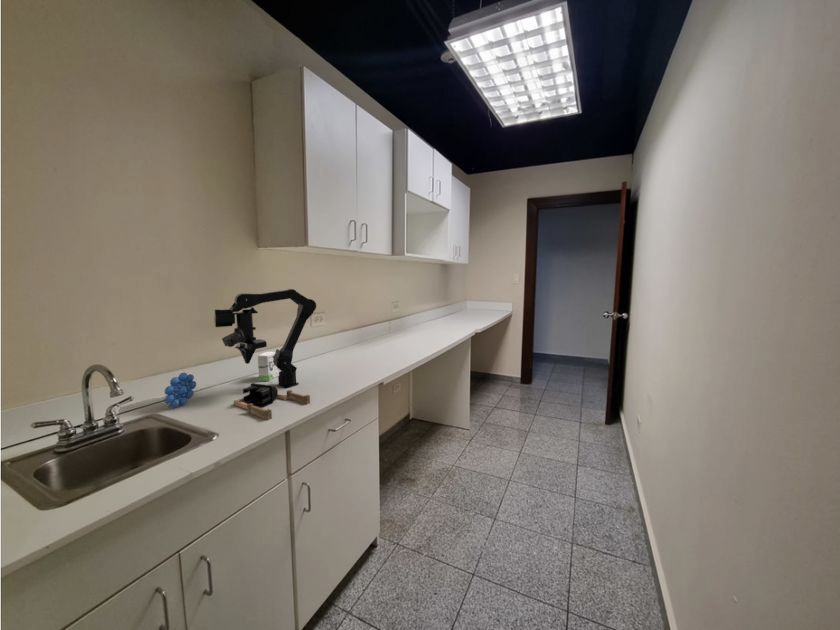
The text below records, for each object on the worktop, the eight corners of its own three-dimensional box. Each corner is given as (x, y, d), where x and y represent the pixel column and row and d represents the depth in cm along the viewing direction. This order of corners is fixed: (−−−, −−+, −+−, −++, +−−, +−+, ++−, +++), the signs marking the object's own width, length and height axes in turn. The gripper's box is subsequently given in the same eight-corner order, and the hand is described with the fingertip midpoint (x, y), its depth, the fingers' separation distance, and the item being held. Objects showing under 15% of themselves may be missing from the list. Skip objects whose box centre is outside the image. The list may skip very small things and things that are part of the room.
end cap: (278, 401, 131) (277, 383, 130) (264, 407, 124) (263, 389, 123) (257, 398, 134) (256, 381, 133) (242, 404, 127) (241, 386, 127)
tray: (268, 393, 139) (267, 389, 138) (287, 399, 132) (287, 395, 132) (233, 404, 127) (233, 400, 127) (253, 411, 121) (253, 407, 120)
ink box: (268, 381, 154) (267, 355, 153) (258, 381, 155) (257, 355, 154) (279, 375, 163) (277, 351, 161) (269, 375, 164) (268, 351, 162)
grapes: (189, 398, 133) (186, 368, 132) (201, 400, 131) (199, 370, 130) (157, 409, 122) (154, 377, 121) (171, 412, 120) (167, 378, 119)
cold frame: (290, 397, 134) (289, 390, 134) (310, 403, 128) (309, 395, 128) (247, 412, 119) (247, 404, 119) (268, 420, 114) (267, 411, 113)
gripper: (211, 326, 135) (214, 364, 137) (238, 329, 125) (241, 371, 127) (238, 322, 144) (241, 358, 146) (266, 325, 135) (268, 364, 137)
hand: (247, 363), depth 139 cm, fingers closed
